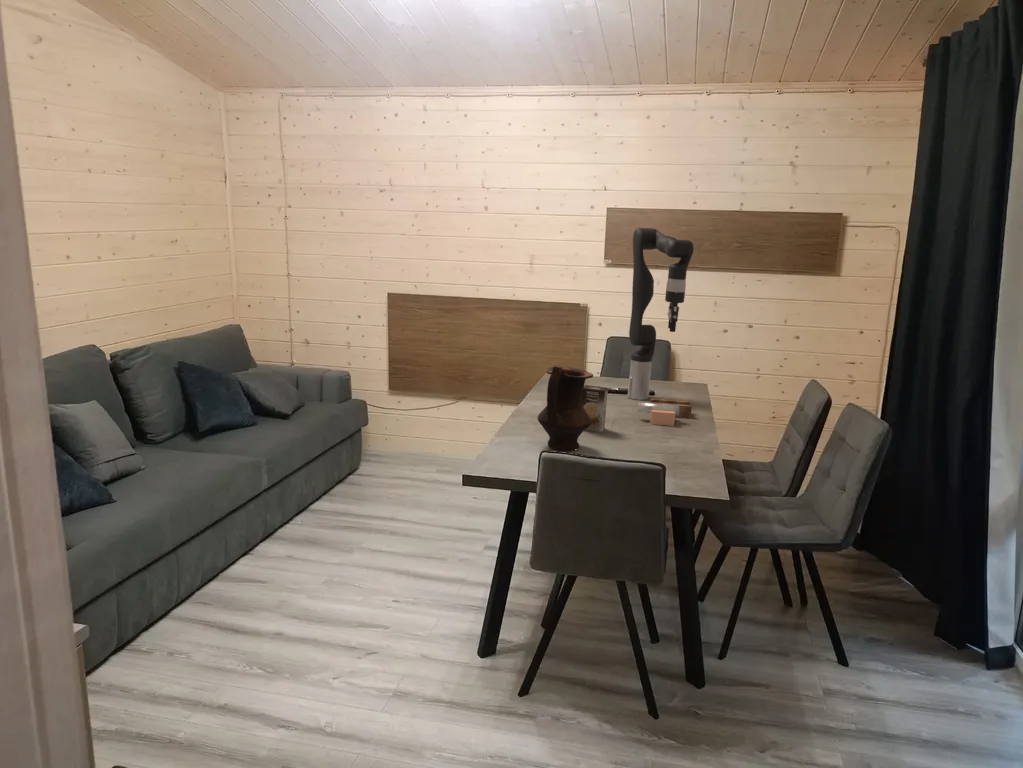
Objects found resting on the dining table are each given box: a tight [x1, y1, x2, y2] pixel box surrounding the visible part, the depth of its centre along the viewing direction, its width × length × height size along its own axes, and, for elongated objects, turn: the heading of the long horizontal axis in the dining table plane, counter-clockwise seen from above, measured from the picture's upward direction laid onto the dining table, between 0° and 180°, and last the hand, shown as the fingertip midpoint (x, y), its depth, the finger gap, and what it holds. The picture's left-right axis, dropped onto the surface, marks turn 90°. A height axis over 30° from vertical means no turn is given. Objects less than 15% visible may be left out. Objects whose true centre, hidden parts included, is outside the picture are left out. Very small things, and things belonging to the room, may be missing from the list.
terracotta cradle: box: [648, 410, 676, 427], centre depth 290 cm, size 9×11×5 cm
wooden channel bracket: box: [650, 398, 693, 419], centre depth 302 cm, size 16×9×5 cm, turn 83°
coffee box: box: [581, 384, 609, 433], centre depth 274 cm, size 9×6×16 cm
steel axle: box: [637, 401, 679, 415], centre depth 290 cm, size 16×4×4 cm, turn 83°
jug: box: [537, 364, 594, 452], centre depth 247 cm, size 21×18×30 cm
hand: (671, 330), depth 296 cm, fingers open, 8 cm apart
